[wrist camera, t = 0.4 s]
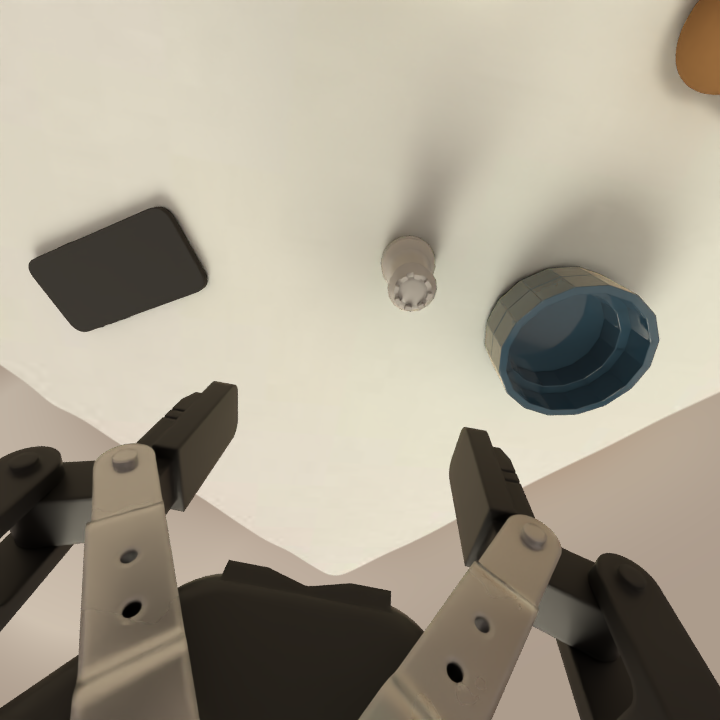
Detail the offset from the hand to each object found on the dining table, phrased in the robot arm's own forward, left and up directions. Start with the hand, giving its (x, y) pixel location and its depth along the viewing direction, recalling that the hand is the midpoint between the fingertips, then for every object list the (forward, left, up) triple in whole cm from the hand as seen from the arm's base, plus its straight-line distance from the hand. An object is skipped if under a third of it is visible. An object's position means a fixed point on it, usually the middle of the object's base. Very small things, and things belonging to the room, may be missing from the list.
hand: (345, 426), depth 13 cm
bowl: (0, +17, -21) cm, 27 cm away
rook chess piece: (-2, +3, -21) cm, 21 cm away
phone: (+8, -21, -21) cm, 31 cm away
